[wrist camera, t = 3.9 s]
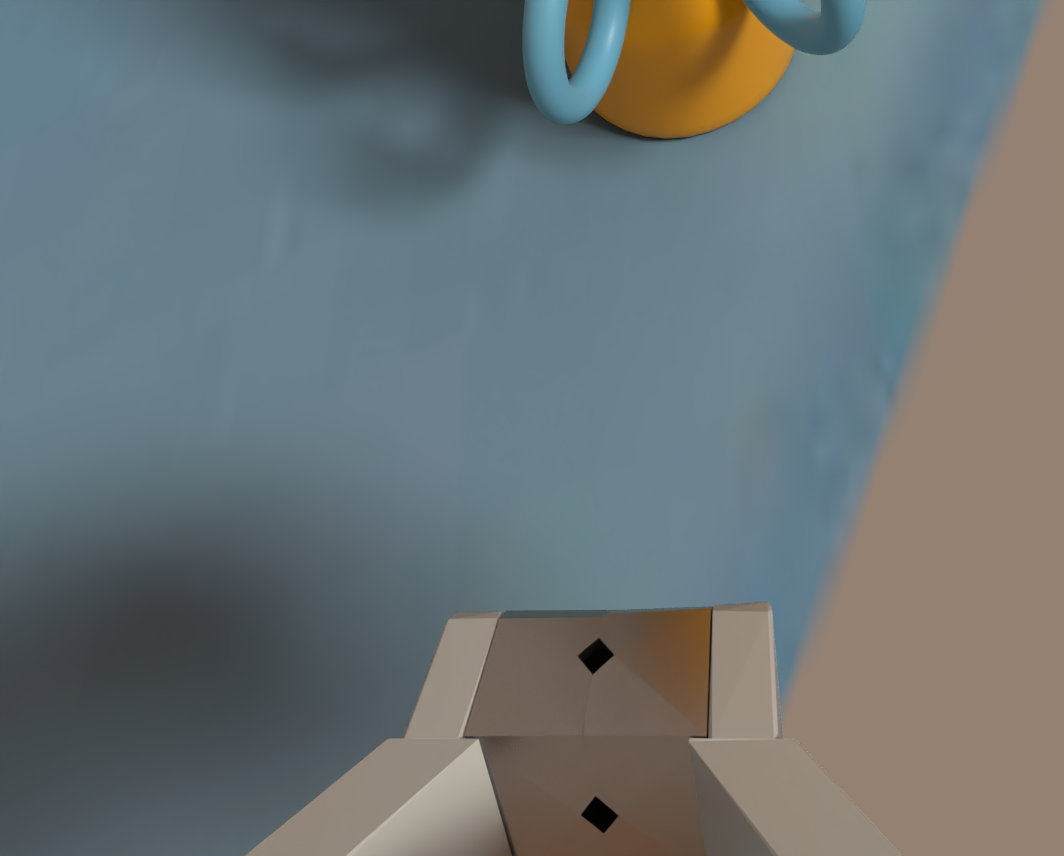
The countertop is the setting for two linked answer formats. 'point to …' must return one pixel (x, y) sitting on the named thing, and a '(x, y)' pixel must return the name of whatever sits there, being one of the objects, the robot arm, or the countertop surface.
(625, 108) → the vase
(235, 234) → the countertop surface
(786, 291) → the countertop surface
